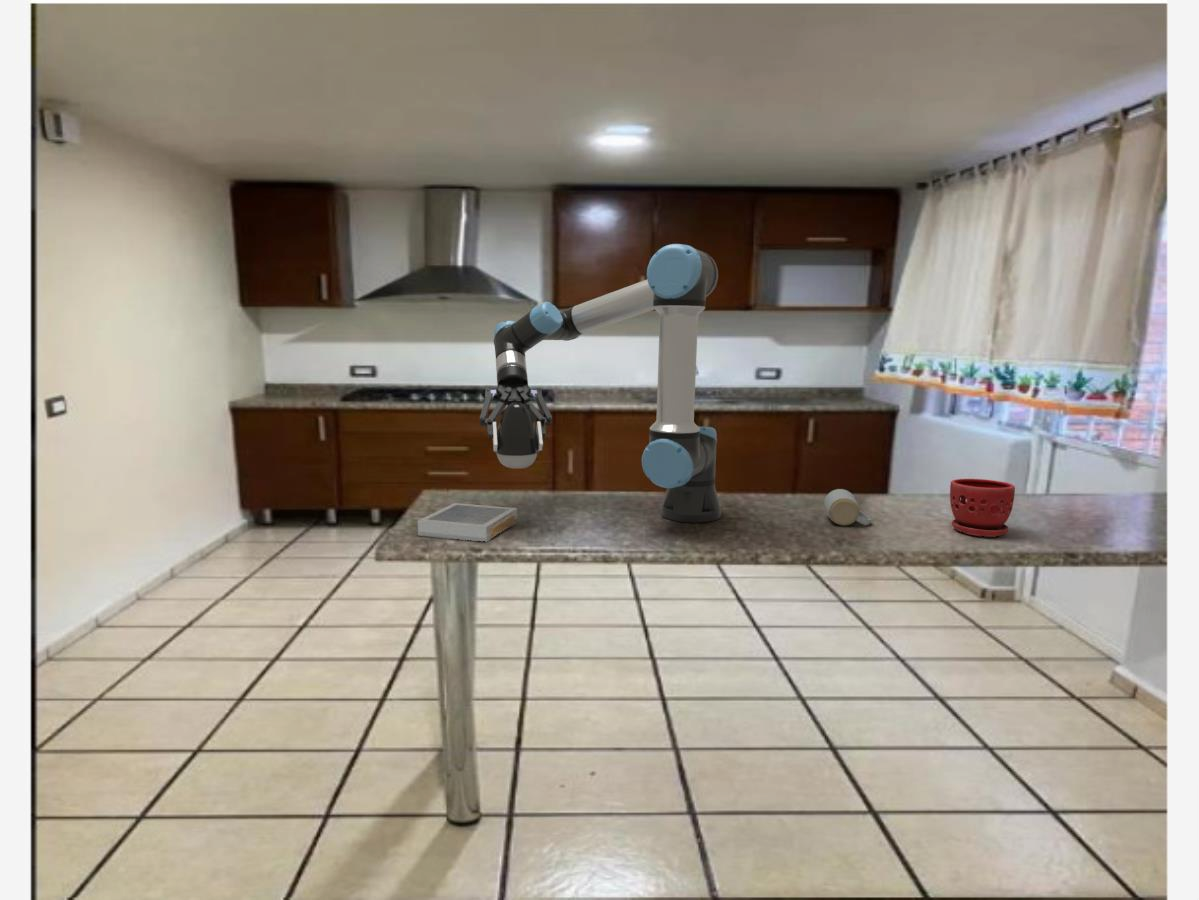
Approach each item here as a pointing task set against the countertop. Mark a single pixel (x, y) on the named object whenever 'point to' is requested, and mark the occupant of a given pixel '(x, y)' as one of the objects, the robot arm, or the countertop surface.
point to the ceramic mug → (844, 508)
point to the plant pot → (981, 506)
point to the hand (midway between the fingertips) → (518, 447)
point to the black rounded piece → (517, 437)
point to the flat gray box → (467, 522)
